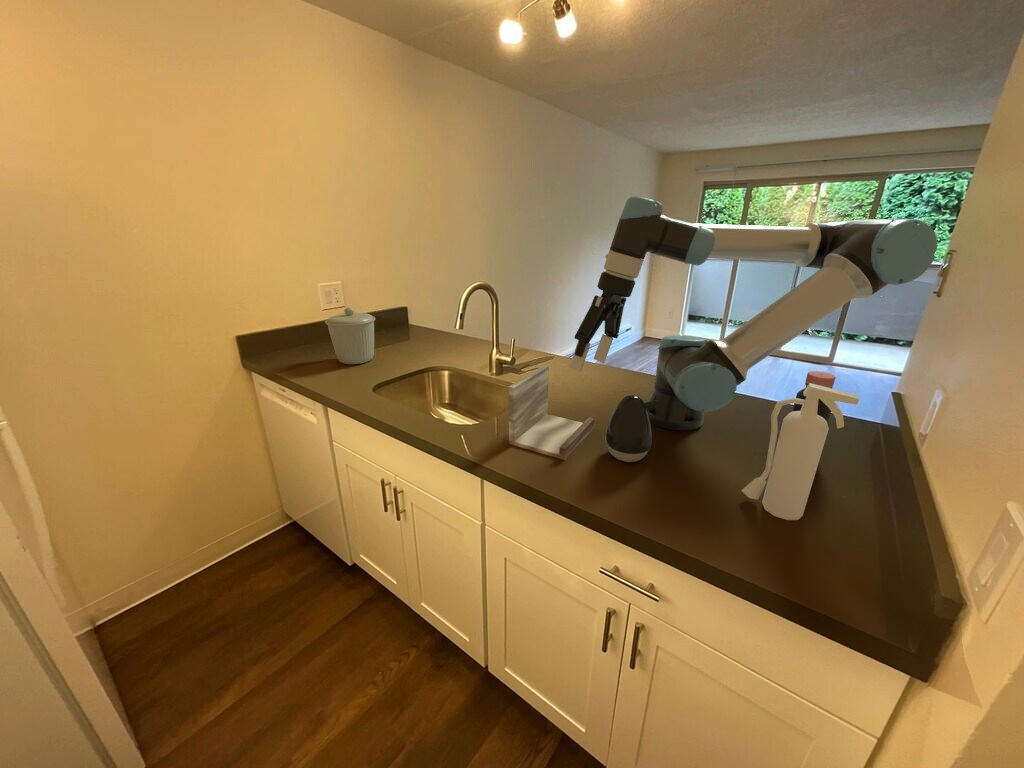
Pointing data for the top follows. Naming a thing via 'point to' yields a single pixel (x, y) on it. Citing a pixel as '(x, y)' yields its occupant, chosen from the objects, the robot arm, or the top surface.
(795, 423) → the fire extinguisher
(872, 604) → the top surface
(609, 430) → the pump dispenser
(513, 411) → the ledge rack
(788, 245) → the robot arm
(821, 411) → the vinegar
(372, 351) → the canister
